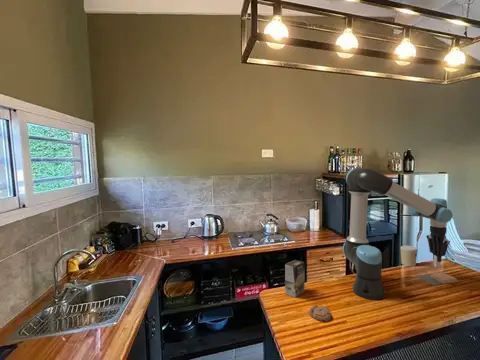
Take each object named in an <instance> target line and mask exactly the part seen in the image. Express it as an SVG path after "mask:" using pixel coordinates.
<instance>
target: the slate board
mask: <svg viewBox="0 0 480 360" xmlns="http://www.w3.org/2000/svg"><path fill="white" fill-rule="evenodd" d="M435 273H436V272H434V273H425V274H419V275H415V277H416V278H417V279H420V280H422V281H424V282H427V283H428V284H430V285H432V286H435V285H445V284H446V283H442V282H440V281H438V280H436V279H433V278H431V274H435ZM458 282H460V283H461V280H458V279H456V282H455V283H458ZM453 283H454V282H452V284H453Z"/></svg>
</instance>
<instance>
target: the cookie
mask: <svg viewBox="0 0 480 360" xmlns="http://www.w3.org/2000/svg"><path fill="white" fill-rule="evenodd" d="M308 314H309V316H310V317H311V318H313V319H314V320H315V321H319V322H321V323H327V322H329V321H331V320H332V317H333V316H332V313H331V311H330V310H329V308H328V307H327V306H323V305H316V304H315V305H313V306H311V307H310V309H309V310H308Z"/></svg>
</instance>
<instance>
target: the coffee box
mask: <svg viewBox="0 0 480 360" xmlns="http://www.w3.org/2000/svg"><path fill="white" fill-rule="evenodd" d="M284 267H285V269H284V271H285V272H284V275H285V276H284V281H285V282H284V283H285V285H284V287H285V288H284V293H285V295H287V296H290V297H292V298H297V297H298V296H300V295H301V294H303V293H305V288H306V287H305V284H306V282H305V281H306V280H305V279H306V277H305V276H306V275H305V274H306V273H305V272H306V271H305V269H306V268H305V267H306V266H305V261H301V260H297V259H294V260H292V261H291V260H290V261H289V262H286V263H285V265H284Z"/></svg>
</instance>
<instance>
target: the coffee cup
mask: <svg viewBox="0 0 480 360" xmlns="http://www.w3.org/2000/svg"><path fill="white" fill-rule="evenodd" d="M417 257H418V248H417V247H416V246H413V245H401V246H400V262H401V265H403V266H406V267H416V266H417Z"/></svg>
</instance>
